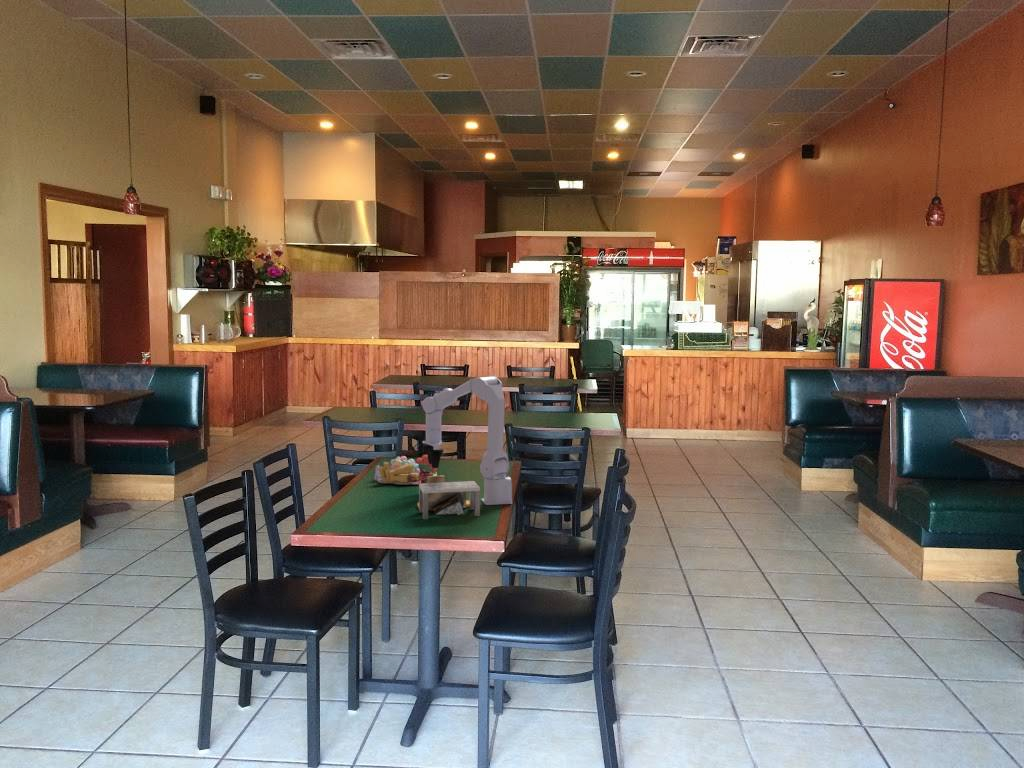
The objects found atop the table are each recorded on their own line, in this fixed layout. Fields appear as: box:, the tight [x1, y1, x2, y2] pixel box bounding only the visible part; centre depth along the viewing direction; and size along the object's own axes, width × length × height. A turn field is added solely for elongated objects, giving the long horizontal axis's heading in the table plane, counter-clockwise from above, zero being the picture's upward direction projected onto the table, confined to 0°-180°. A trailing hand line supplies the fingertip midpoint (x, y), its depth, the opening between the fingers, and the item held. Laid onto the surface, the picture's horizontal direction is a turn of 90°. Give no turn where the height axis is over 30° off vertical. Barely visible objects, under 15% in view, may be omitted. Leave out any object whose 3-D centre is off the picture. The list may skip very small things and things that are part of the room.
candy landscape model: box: [374, 454, 438, 485], centre depth 319 cm, size 25×24×9 cm
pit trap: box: [416, 499, 470, 510], centre depth 277 cm, size 18×6×1 cm, turn 104°
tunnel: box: [418, 480, 481, 520], centre depth 268 cm, size 19×10×10 cm, turn 104°
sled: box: [426, 474, 467, 511], centre depth 284 cm, size 13×25×6 cm, turn 14°
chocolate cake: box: [429, 492, 464, 517], centre depth 269 cm, size 10×7×12 cm
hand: (433, 465), depth 299 cm, fingers open, 7 cm apart
